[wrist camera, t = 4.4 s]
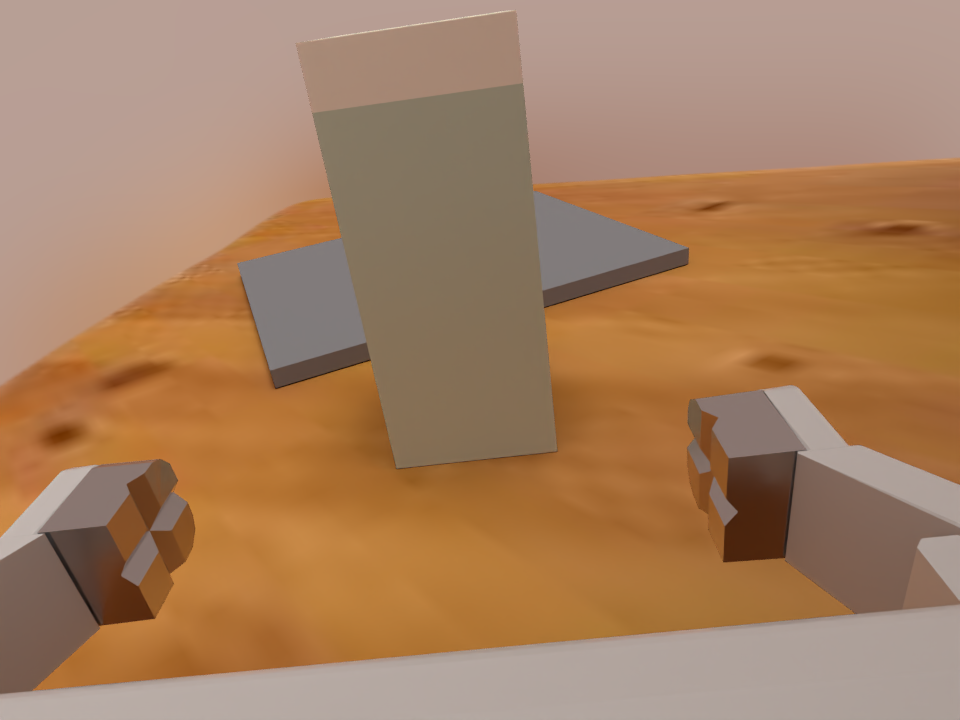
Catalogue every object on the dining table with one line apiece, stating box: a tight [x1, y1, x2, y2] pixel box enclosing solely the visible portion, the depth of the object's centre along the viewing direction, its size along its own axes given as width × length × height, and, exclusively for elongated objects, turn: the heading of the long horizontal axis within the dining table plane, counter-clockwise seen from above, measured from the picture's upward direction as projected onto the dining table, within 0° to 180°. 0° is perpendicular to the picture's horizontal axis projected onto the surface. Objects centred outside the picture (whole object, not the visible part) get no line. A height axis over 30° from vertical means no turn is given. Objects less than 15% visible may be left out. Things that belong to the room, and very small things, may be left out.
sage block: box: [296, 10, 557, 469], centre depth 20 cm, size 5×5×12 cm
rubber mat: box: [237, 191, 689, 388], centre depth 36 cm, size 20×16×1 cm
